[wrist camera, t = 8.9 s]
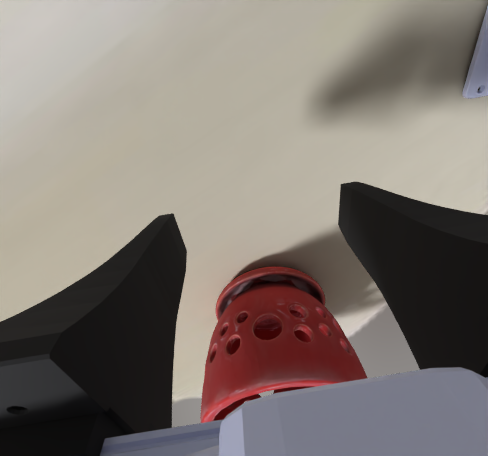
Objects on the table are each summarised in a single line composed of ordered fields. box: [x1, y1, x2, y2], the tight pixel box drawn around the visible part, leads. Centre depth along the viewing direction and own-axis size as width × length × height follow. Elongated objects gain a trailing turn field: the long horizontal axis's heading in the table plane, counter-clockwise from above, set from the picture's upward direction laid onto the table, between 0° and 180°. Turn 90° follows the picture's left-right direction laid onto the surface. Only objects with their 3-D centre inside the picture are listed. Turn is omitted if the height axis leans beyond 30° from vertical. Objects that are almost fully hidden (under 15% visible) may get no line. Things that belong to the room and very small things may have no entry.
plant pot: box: [201, 266, 367, 423], centre depth 24 cm, size 13×13×12 cm
